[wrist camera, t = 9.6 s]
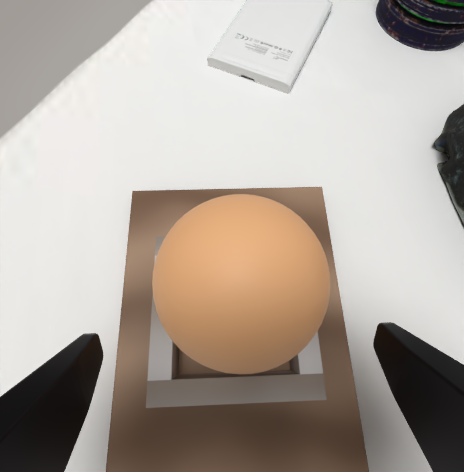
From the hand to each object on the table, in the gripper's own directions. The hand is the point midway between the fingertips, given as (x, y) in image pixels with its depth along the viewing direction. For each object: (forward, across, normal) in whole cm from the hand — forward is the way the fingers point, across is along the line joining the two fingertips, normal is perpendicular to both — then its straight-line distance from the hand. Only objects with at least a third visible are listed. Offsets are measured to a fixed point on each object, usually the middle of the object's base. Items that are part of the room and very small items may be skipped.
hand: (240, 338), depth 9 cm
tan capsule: (+7, 0, +5) cm, 9 cm away
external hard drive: (+27, -5, -13) cm, 30 cm away
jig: (+8, 0, +6) cm, 10 cm away
